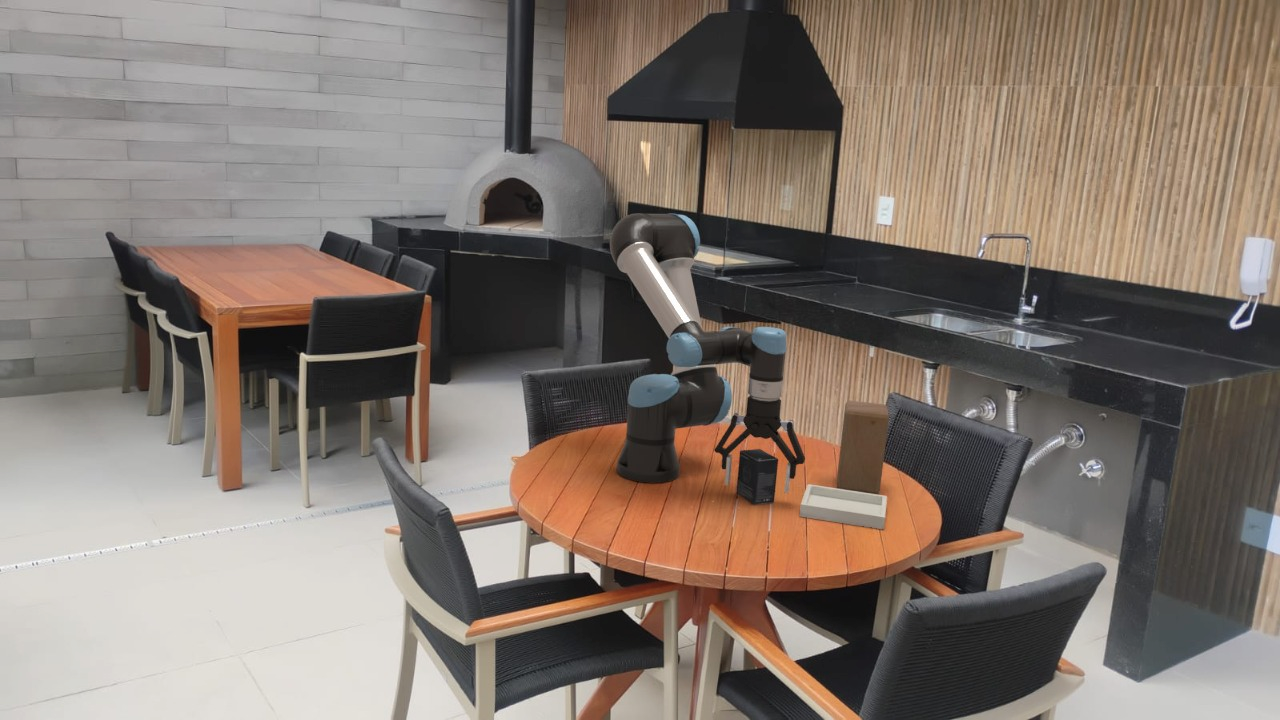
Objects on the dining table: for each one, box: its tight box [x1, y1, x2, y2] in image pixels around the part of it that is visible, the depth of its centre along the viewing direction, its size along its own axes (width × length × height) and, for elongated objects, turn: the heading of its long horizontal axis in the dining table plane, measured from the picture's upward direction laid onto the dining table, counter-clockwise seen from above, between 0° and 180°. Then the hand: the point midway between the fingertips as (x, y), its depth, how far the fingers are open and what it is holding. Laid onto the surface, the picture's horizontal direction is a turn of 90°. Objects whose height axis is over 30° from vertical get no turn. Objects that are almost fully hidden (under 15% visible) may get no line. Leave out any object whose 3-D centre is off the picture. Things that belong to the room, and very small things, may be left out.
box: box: [736, 448, 779, 506], centre depth 224 cm, size 8×6×11 cm
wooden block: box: [836, 400, 890, 495], centre depth 235 cm, size 10×10×20 cm
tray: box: [799, 483, 888, 531], centre depth 220 cm, size 18×14×3 cm
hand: (756, 487), depth 224 cm, fingers open, 13 cm apart
